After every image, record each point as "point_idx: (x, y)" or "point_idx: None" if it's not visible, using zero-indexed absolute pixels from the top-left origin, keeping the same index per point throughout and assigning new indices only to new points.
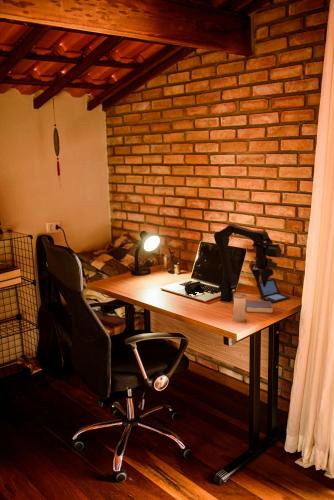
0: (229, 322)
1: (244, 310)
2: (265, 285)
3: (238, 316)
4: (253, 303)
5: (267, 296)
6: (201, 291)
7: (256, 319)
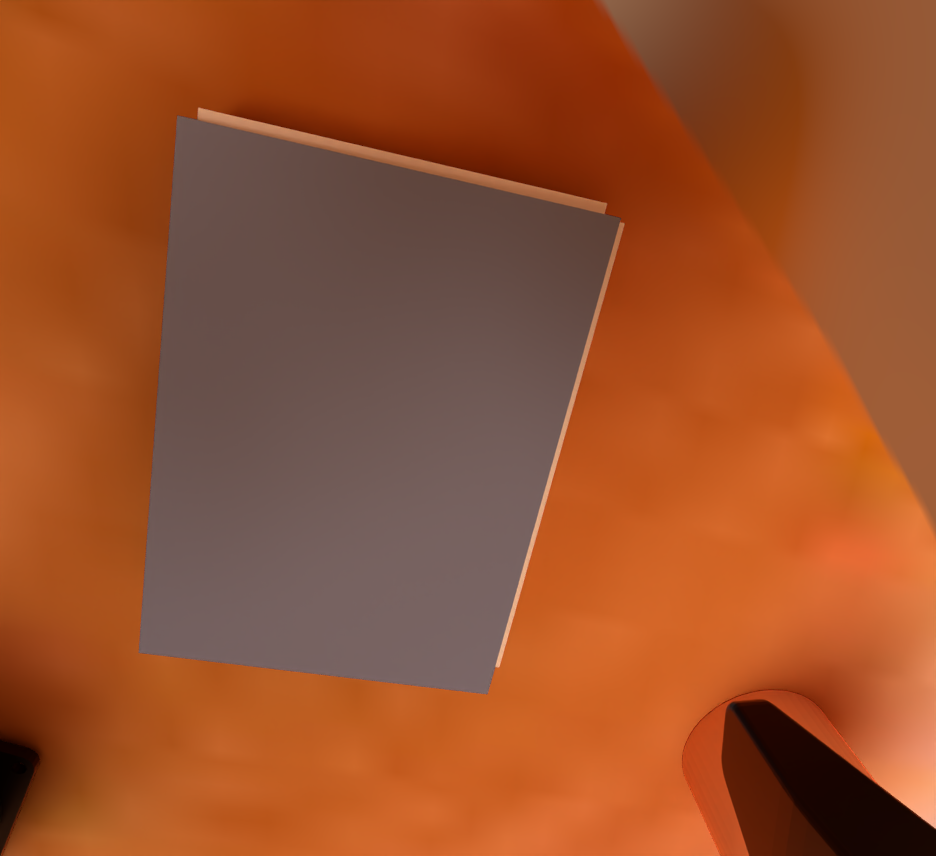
0: None
1: None
2: (822, 755)
3: None
4: (330, 533)
5: None
6: None
7: (802, 545)
